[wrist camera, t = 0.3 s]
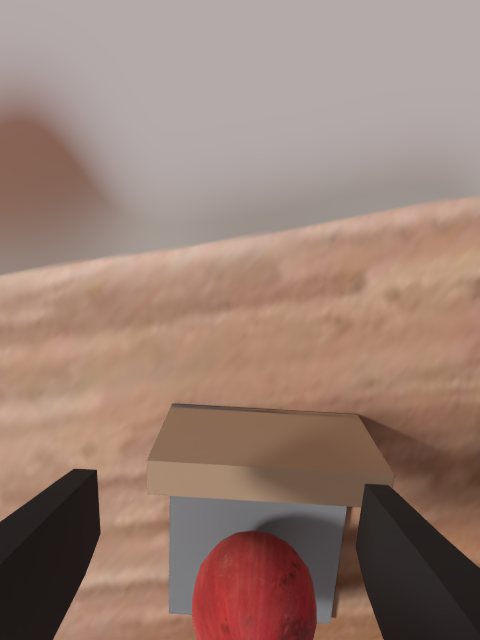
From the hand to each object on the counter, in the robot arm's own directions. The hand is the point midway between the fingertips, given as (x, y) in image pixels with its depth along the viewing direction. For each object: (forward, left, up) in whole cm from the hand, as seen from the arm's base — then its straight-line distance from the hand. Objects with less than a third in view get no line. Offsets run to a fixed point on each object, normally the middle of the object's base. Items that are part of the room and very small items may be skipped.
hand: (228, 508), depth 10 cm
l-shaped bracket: (-9, -1, -10) cm, 13 cm away
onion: (-10, -1, -9) cm, 14 cm away
